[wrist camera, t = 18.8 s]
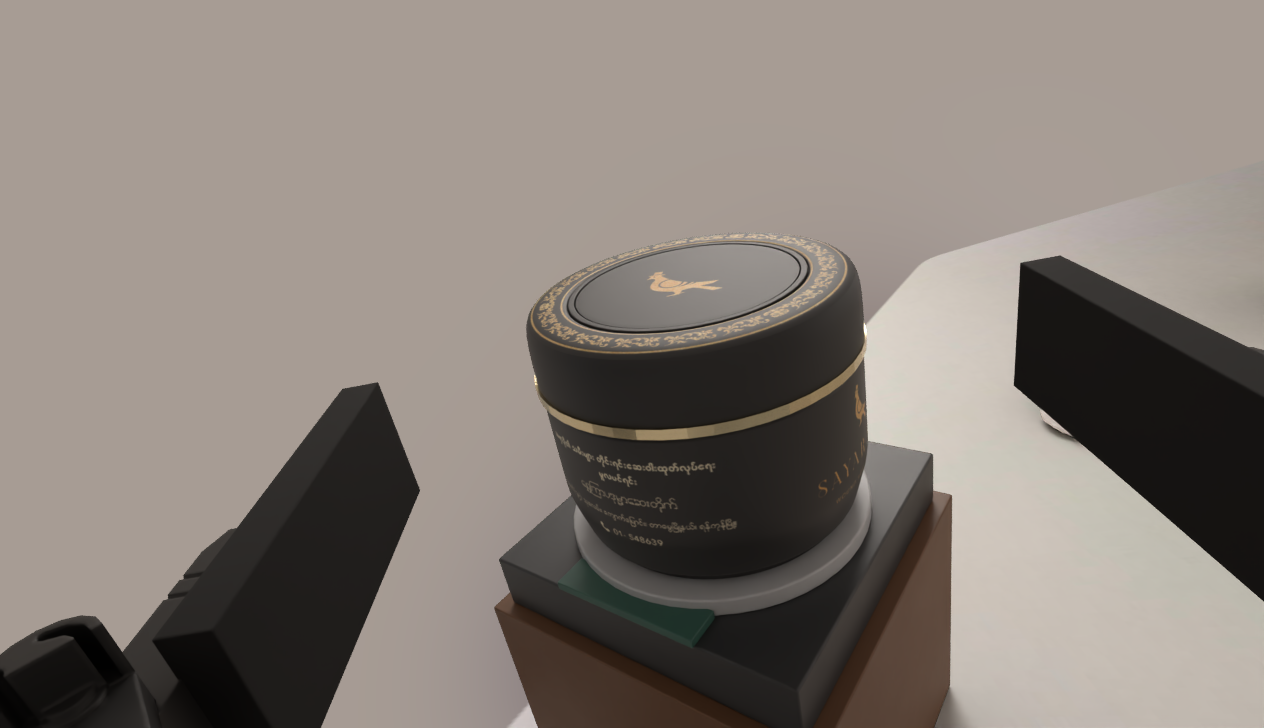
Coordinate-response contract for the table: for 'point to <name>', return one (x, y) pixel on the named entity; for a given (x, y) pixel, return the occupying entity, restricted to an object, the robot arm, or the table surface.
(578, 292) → the jar
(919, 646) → the scale
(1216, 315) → the table surface
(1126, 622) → the table surface
